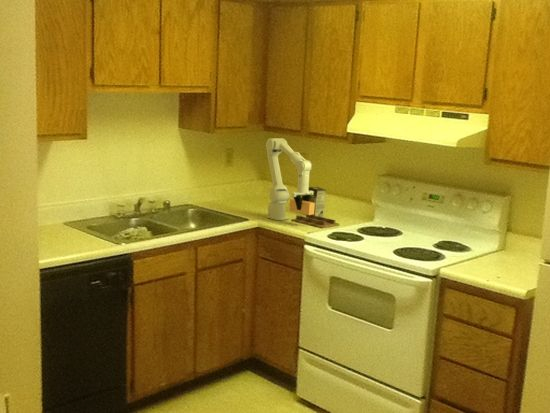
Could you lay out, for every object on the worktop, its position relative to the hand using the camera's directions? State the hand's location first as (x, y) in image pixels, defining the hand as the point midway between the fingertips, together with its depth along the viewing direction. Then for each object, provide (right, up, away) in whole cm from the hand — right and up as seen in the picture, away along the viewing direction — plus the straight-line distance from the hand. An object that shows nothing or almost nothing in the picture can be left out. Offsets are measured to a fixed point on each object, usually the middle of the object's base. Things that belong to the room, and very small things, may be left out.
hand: (301, 209), depth 374 cm
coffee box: (+9, -4, +28) cm, 30 cm away
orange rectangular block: (0, -2, 0) cm, 2 cm away
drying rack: (+8, -8, +9) cm, 14 cm away
